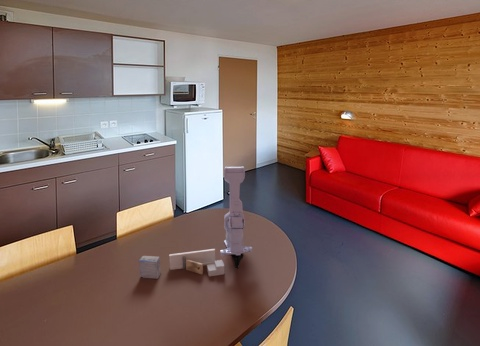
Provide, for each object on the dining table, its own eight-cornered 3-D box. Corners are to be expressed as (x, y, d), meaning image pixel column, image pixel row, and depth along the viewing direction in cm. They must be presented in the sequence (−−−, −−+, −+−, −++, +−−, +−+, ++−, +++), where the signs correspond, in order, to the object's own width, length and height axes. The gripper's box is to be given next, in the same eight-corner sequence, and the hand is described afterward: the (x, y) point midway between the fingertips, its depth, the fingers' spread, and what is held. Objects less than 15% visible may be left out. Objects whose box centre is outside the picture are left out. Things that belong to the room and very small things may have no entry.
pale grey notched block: (207, 270, 140) (206, 261, 139) (222, 268, 142) (221, 259, 141) (209, 276, 136) (208, 268, 135) (224, 274, 138) (224, 265, 136)
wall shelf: (169, 267, 142) (169, 254, 140) (214, 261, 147) (214, 248, 145) (170, 271, 139) (169, 257, 137) (215, 265, 144) (215, 251, 142)
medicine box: (161, 273, 138) (160, 256, 135) (157, 279, 133) (156, 261, 131) (144, 272, 138) (142, 255, 136) (140, 278, 134) (138, 260, 132)
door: (185, 270, 140) (184, 260, 138) (187, 268, 141) (186, 259, 140) (201, 275, 136) (200, 265, 135) (202, 273, 138) (202, 263, 136)
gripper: (222, 247, 132) (222, 274, 135) (254, 243, 135) (253, 269, 139) (219, 239, 138) (219, 265, 142) (250, 235, 142) (249, 261, 146)
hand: (236, 267), depth 141 cm, fingers closed
